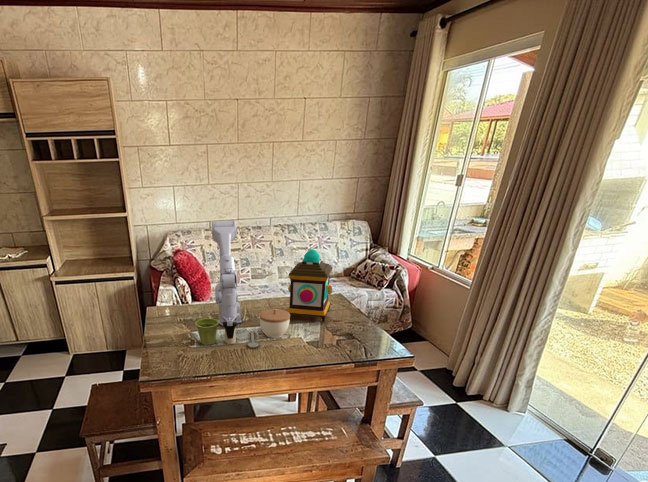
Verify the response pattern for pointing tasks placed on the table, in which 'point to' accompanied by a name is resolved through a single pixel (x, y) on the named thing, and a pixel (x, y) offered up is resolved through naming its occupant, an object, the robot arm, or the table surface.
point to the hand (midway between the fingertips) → (230, 335)
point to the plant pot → (207, 330)
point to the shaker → (230, 341)
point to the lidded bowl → (274, 322)
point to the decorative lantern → (310, 287)
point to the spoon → (253, 342)
